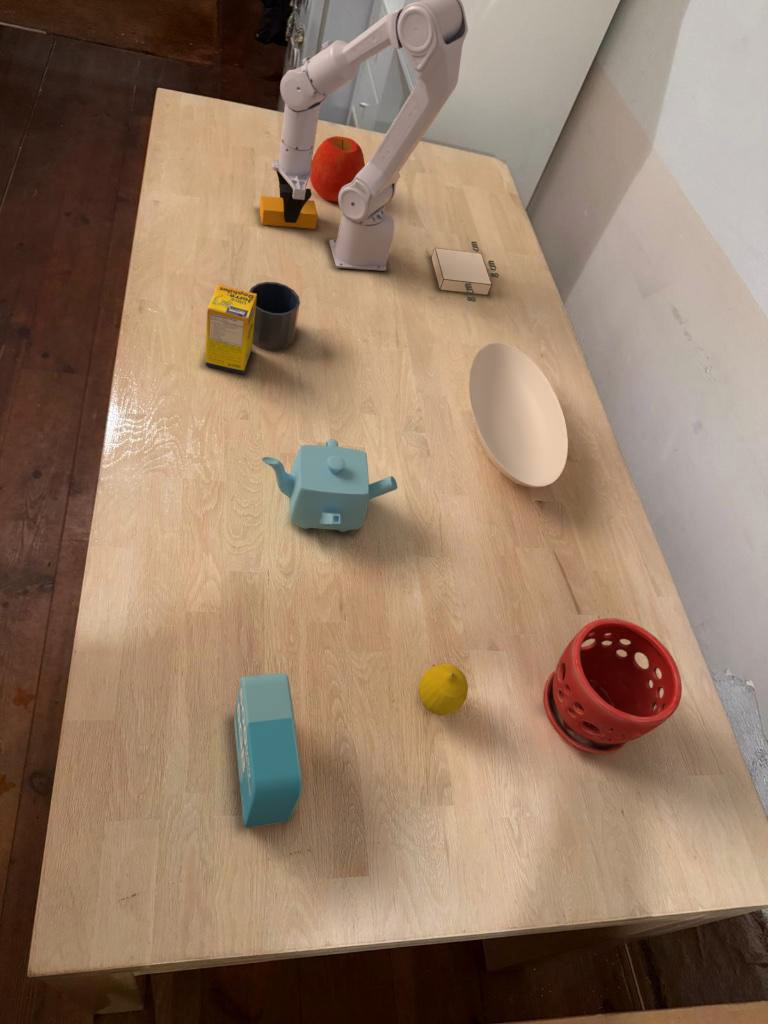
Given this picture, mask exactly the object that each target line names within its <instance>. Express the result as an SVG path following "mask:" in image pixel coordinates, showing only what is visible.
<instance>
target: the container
mask: <svg viewBox="0 0 768 1024" xmlns="http://www.w3.org/2000/svg"><path fill="white" fill-rule="evenodd" d="M470 245H471V247H472V250H473V252H472V251H464V250H457V249H450V248H449V249H448V248H441V247H434V248H433V252H432V256H431V257H430V258H431V263H432V267H433V270H434V273H435V278H436V281H437V284H438V288H439V290H440V291H446V292H455V293H464V294H468V295H483V296H488V295H489V293H490V291H491V289H492V286H493V284H492V280H491V277H492V278H496V279H498V278H499V277H500V275H499V273H497V272H495V271H497V269H498V268H497V266H496V263H495V260H488V261H487V263H488V266H489V269H490V271H492V272H491V273H490V274H489V271H488V269H487V265H486V262H485V259H484V257H483V253H481V252H479V251H480V248H479V246H478V242H477V241H471V243H470ZM493 271H494V272H495V273H494V272H493ZM466 300H467V301H468V302H473V303H475V302H476V300H477V298H476V297H475V296H467V298H466Z"/></svg>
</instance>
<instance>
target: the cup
mask: <svg viewBox="0 0 768 1024" xmlns="http://www.w3.org/2000/svg"><path fill="white" fill-rule="evenodd" d="M249 289H250V290H249V291H248V292H251V293H255V294H257V298H256V310H255V321H254V331H253V342H252V345H255V346H256V347H259V348H261V349H265V350H270V351H278V350H283V349H285V348H287V347H289V346H291V344H292V343H293V342H294V339H295V335H296V329H297V324H298V318H299V311H300V305H301V301H300V297H299V295H298V294H297V292H296V291H295V290H294V289H293V288H291V287H290V286H288V285H286V284H284V283H280V282H276V281H264V282H260V283H256V284H255V285H253V286H251V288H249Z"/></svg>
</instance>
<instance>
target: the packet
mask: <svg viewBox="0 0 768 1024" xmlns="http://www.w3.org/2000/svg"><path fill="white" fill-rule="evenodd" d="M259 201H260V202H259V216H260V222H261V225H264V226H273V227H274V226H275V227H287V228H299V229H300V228H301V229H313V230H315V229H316V226H317V221H318V210H317V207H316V203H315V200H312V199H311V200H310V199H309V200H308V201H307V202H306V203H305V204H304V206H303V208H302V210H301V212H300V215H299V217H298V219H297V222H296V223H288V222H285V220H284V207H283V198H280V196H279V197H278V196H267V195H260V200H259Z"/></svg>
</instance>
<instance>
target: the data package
mask: <svg viewBox="0 0 768 1024" xmlns="http://www.w3.org/2000/svg"><path fill="white" fill-rule="evenodd" d="M292 699H293V698H292V692H291V685H290V680H289V676H288V674H287V673H286V672H278V673H267V674H266V673H265V674H256V675H248V676H247V675H246V676H242V677H241V678H240V681H239V686H238V692H237V698H236V704H235V710H234V717H233V719H234V720H233V723H234V725H233V726H234V736H235V746H236V748H235V749H236V757H237V759H236V760H237V768H238V779H239V790H240V791H239V792H240V802H241V803H240V804H241V812H242V813H241V814H242V822H243V826H244V827H245V828H254V827H260V826H267V825H271V824H272V825H274V824H280V823H285V822H287V823H288V822H289V821H290V820H291V818H292V816H293V814H294V811H295V809H296V806H297V805H298V803H299V800H300V798H301V796H302V794H303V772H302V771H303V770H302V763H301V757H300V751H299V744H298V736H297V728H296V722H295V713H294V707H293V701H292Z"/></svg>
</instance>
